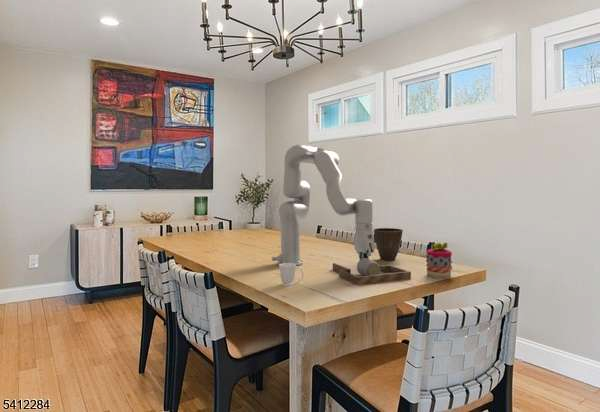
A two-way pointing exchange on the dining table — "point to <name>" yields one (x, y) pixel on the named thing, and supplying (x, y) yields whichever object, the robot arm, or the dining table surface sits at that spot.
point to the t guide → (392, 276)
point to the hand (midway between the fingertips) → (363, 267)
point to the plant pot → (388, 242)
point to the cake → (439, 261)
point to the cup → (288, 273)
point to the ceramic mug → (368, 267)
